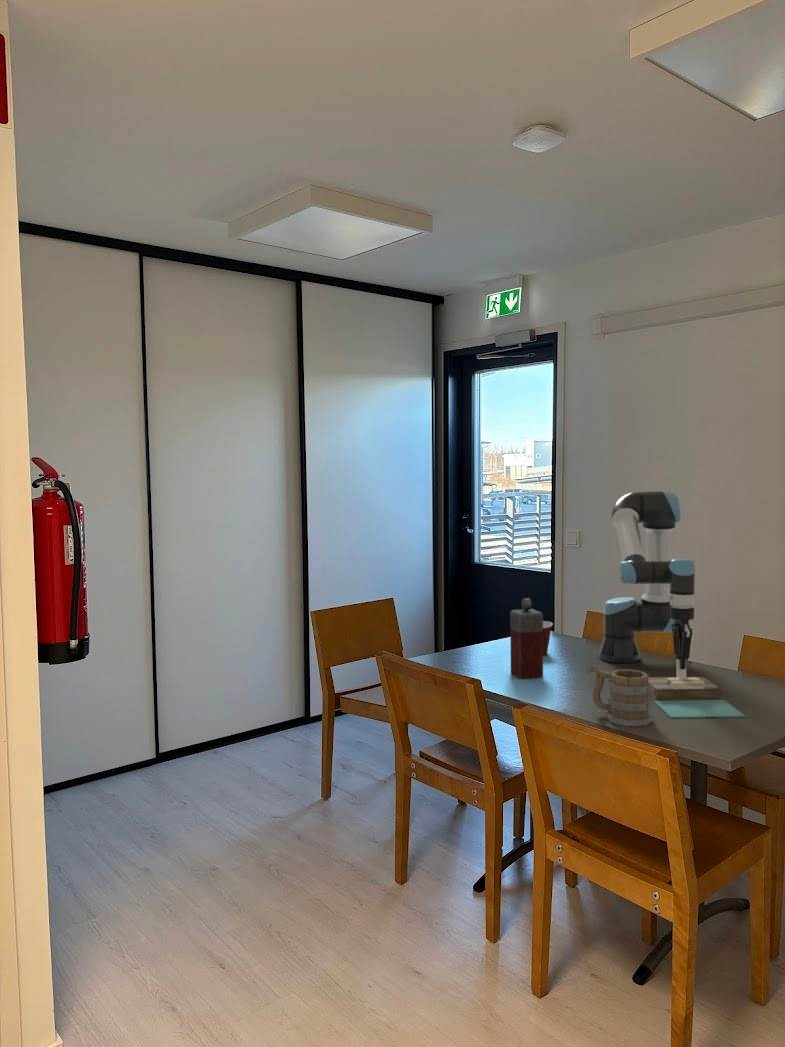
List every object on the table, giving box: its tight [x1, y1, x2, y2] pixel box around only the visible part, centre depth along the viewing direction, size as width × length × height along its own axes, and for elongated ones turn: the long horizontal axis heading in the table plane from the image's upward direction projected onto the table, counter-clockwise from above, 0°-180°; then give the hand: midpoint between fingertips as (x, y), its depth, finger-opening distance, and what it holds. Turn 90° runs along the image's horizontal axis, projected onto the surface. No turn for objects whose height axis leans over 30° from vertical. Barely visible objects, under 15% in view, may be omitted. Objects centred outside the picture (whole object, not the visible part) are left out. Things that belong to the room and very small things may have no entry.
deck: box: [648, 676, 721, 701], centre depth 267 cm, size 14×20×4 cm
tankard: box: [585, 664, 654, 728], centre depth 245 cm, size 20×13×15 cm, turn 48°
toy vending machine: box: [509, 597, 548, 680], centre depth 294 cm, size 9×11×28 cm
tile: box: [667, 678, 705, 689], centre depth 263 cm, size 6×10×2 cm, turn 89°
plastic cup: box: [543, 620, 554, 652], centre depth 327 cm, size 11×11×12 cm
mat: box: [653, 699, 746, 719], centre depth 252 cm, size 16×22×1 cm
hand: (681, 678), depth 267 cm, fingers closed
